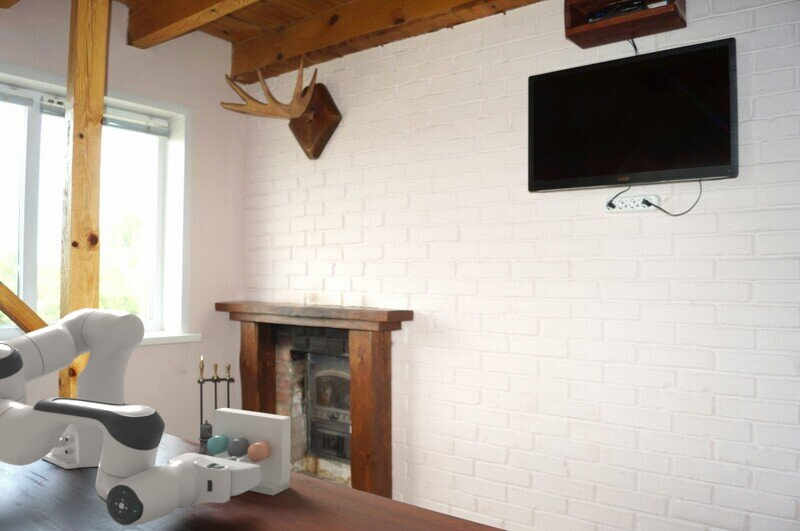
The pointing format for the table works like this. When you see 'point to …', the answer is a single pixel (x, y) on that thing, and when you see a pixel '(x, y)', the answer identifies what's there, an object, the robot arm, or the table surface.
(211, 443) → the teal button
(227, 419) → the console
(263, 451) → the terracotta button
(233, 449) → the charcoal button
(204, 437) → the grey stone chess piece
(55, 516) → the table surface
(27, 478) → the table surface
